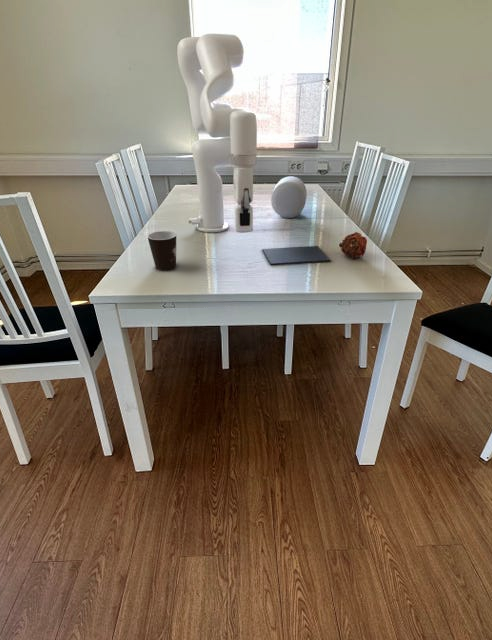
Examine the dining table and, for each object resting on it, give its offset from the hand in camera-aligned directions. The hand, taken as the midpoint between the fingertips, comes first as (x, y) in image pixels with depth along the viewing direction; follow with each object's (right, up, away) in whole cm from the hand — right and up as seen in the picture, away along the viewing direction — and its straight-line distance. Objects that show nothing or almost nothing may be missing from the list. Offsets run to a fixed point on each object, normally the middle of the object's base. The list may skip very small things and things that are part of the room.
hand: (243, 222), depth 126 cm
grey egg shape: (+17, +24, +53) cm, 61 cm away
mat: (+17, -9, +7) cm, 21 cm away
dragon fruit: (+36, -9, +7) cm, 38 cm away
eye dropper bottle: (0, -2, +2) cm, 3 cm away
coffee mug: (-24, -14, -1) cm, 28 cm away
